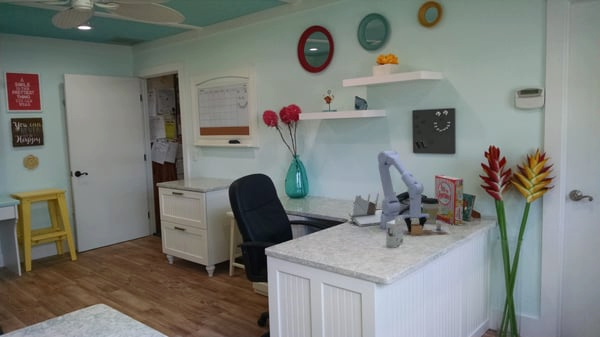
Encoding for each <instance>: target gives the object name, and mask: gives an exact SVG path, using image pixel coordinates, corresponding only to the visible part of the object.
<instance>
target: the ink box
mask: <svg viewBox="0 0 600 337" xmlns="http://www.w3.org/2000/svg"><path fill="white" fill-rule="evenodd" d="M403 215H404V214H400V215H398V217H395V220H393V221H390V222H387V223H386V227H385V228H386V229H385V231H386V234H385V236H386V244H385V246H386V247H389V248H397V247H399V246H401V245H402V244H401V243H403V242H404V219H403ZM398 219H400V220H398Z"/></svg>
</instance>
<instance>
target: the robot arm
mask: <svg viewBox="0 0 600 337" xmlns="http://www.w3.org/2000/svg"><path fill="white" fill-rule="evenodd" d="M377 161H378V171H379V177H380V180H381V186H382V190H383V196H384V198H383V199H382V201H381V204H382V205H381V210H383V212H384V214H382V215H381V218H380V225H379V226H380V227H379V228H381V229H383V230H386V223H387V222H390V221H393V220H395V217H398V216H399V214H400V212H401V210H402V204H401V203H400V201H399V198H398V197H397V196H396V194H395V195H394V192H395V191H394V187H393V181H392V178H391V172H390V167H391V166H393V167H394V168H395V169H396V171H398V173H399V174H400V175H401V180H402V182H403V183H404V184H405V186H406V187H407V193H408V196H409V213H406V214H402V215H403V221H404V222H405V224H406V226H407V227H406V228H407V231H408V232H411V224H412V222H413V221H412V219H418V224H420V225H422V230H424V227H425V225H426V224H425V222H426V221H427V219H426V218H429V214H423V213H422V194H423V193H424V190H425V188H424V185H423V184H422V183H421V182H419V181H417V180H416V179H415V177H414V174H413V173H412V172H410V171H408V170H406V167H405V166H404V164H403V163H402V161H401V159H400V155H399V154H398V152H397V151H396V150H385V151H380V152H379V153H378V155H377Z"/></svg>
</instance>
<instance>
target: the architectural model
mask: <svg viewBox="0 0 600 337" xmlns="http://www.w3.org/2000/svg"><path fill="white" fill-rule="evenodd" d="M376 194H377V195H376V198H375V200H370V199H371V194H370V193H368V197H367V200H366V199H365V198H362V195H361V194H359V195H358V194H356V195H355V200H354V202H353V205H354V206H353V210H352V212H349V213H348V216H349V217H350V220H351V222H350V223H351V224H354V222H355V223H356V225H357V226H359V228H363V227H372V226H380V218H381V215H382V214H384V212H383V210H382V209H377V206H378V200H379V196H380V194H379V192H377V193H376ZM396 194H397V193H396V191H394V195H395V196H396ZM398 220H400V218H399V219H398Z"/></svg>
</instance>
